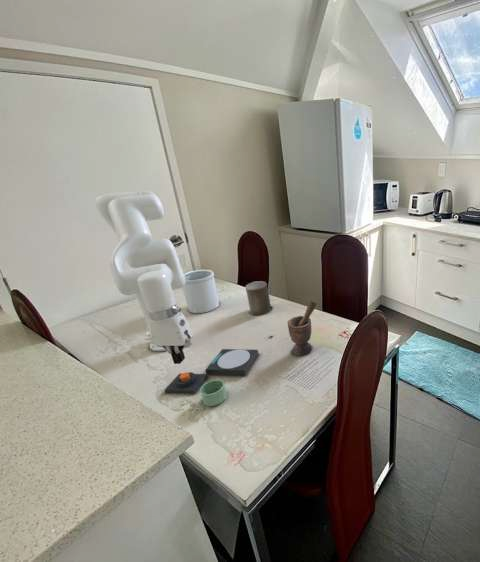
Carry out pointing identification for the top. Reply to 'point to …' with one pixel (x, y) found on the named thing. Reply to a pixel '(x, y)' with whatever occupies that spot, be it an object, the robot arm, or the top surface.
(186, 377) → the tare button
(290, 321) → the mortar and pestle
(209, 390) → the bowl
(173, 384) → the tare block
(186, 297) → the utensil holder
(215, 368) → the scale
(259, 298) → the pillar candle
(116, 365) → the top surface
